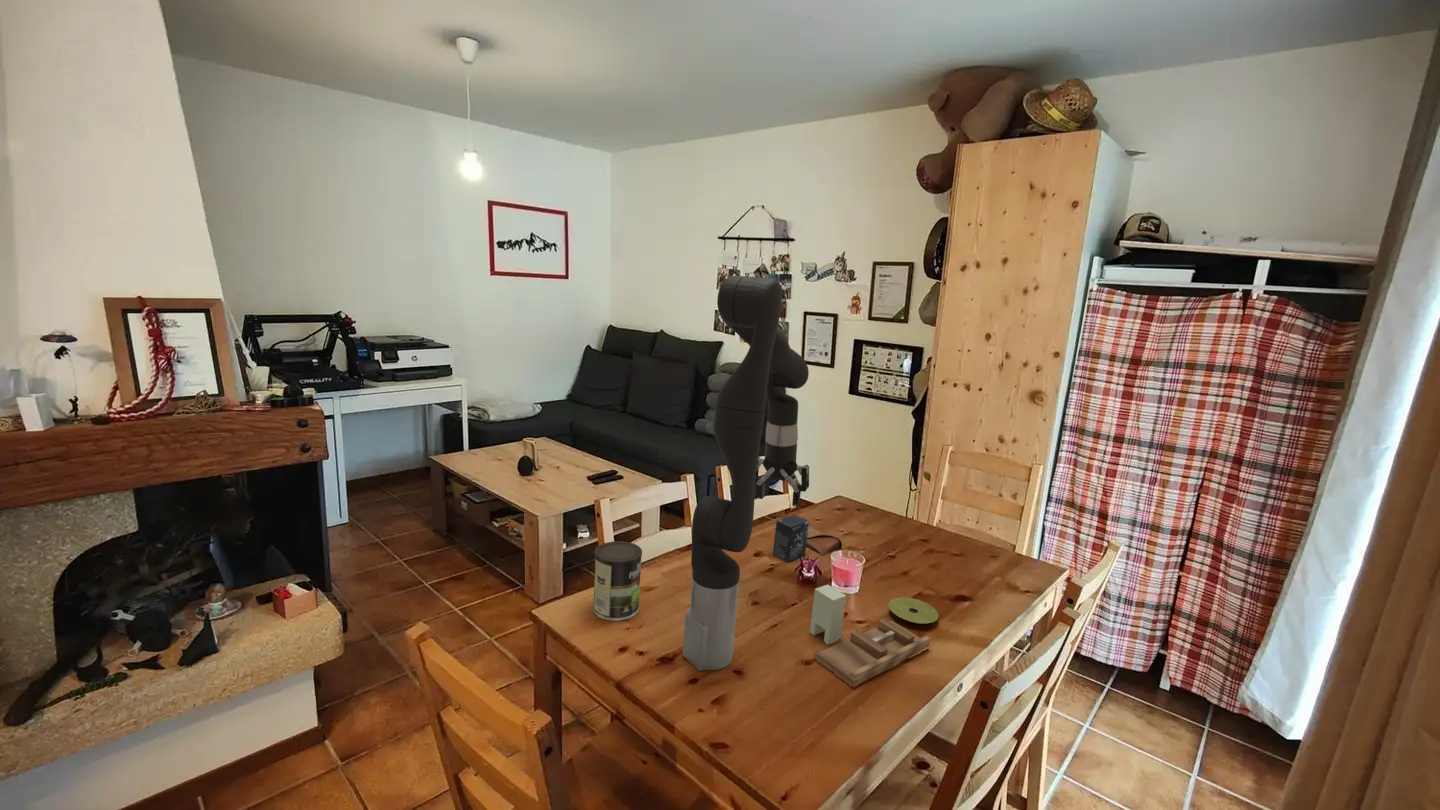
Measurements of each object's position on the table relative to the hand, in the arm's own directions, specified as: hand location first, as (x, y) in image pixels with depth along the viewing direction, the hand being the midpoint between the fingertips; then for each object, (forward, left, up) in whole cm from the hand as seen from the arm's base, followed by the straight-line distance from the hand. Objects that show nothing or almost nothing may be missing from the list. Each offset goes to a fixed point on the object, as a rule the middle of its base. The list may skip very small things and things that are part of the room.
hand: (778, 501), depth 150 cm
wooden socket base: (-1, -34, -22) cm, 40 cm away
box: (+15, +9, -22) cm, 28 cm away
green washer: (+19, -29, -22) cm, 41 cm away
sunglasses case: (+27, +13, -23) cm, 37 cm away
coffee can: (-39, +8, -22) cm, 46 cm away
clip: (-5, -24, -22) cm, 33 cm away
